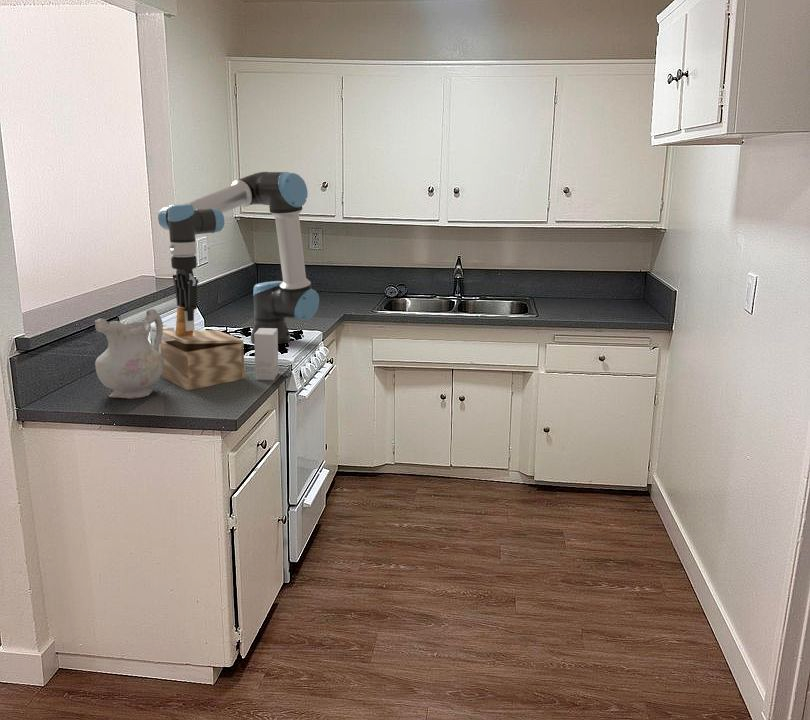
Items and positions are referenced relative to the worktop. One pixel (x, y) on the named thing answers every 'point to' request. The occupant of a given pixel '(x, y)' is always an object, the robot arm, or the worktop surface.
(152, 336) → the syrup box
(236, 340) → the lid
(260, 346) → the skincare box
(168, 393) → the worktop surface
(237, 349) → the carton
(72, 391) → the worktop surface
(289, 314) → the robot arm
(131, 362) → the ceramic pitcher
